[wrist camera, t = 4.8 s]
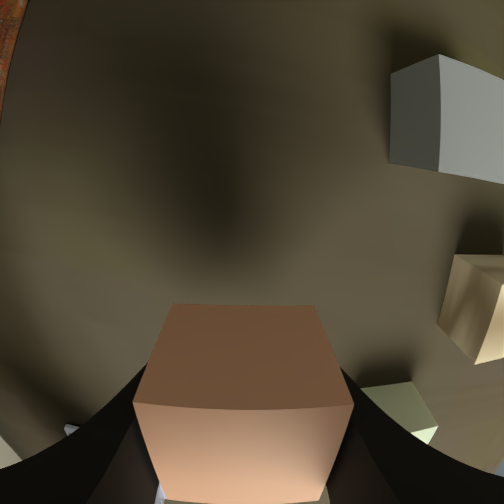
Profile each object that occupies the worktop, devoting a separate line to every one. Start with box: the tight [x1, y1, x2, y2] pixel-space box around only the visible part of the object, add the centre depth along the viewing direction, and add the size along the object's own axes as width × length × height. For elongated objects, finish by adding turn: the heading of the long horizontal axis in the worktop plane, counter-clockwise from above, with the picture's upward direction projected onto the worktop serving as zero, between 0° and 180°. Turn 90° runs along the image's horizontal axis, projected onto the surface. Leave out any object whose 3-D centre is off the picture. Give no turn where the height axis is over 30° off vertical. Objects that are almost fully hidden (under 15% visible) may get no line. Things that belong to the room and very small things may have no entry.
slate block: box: [389, 54, 504, 184], centre depth 11 cm, size 4×4×4 cm
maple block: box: [437, 254, 504, 365], centre depth 14 cm, size 4×4×4 cm
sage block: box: [360, 381, 438, 444], centre depth 17 cm, size 4×4×4 cm
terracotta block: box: [133, 304, 354, 504], centre depth 9 cm, size 4×4×4 cm
